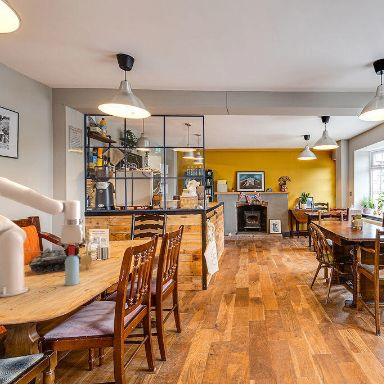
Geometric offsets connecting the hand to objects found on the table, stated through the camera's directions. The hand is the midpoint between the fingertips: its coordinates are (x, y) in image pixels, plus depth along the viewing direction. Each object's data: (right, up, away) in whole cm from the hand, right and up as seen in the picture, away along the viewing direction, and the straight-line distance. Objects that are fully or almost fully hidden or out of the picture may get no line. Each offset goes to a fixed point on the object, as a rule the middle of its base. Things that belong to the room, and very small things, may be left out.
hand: (72, 255), depth 156 cm
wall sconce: (-9, -15, +30) cm, 35 cm away
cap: (0, +1, 0) cm, 1 cm away
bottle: (0, -16, 0) cm, 16 cm away
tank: (-29, -16, +28) cm, 43 cm away
